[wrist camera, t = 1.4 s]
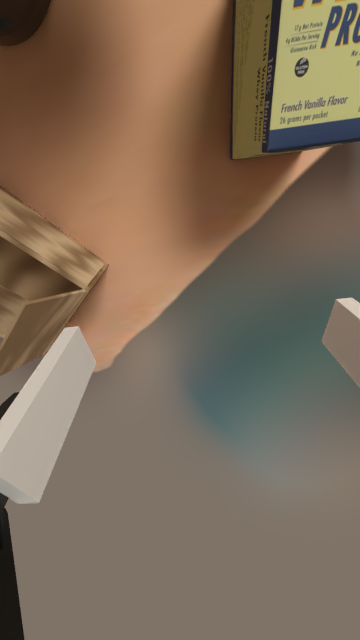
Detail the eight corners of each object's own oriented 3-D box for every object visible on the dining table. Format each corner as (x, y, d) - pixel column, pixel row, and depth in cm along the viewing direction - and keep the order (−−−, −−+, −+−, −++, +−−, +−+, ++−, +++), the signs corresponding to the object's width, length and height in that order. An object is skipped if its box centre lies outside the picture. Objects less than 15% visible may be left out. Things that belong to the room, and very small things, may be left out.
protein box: (229, 162, 31) (266, 155, 18) (231, -25, 22) (305, -297, 9) (304, 151, 30) (398, 136, 17) (337, -45, 22) (572, -365, 9)
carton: (-53, 258, 38) (-116, 282, 30) (-26, 163, 31) (-102, 160, 22) (66, 324, 46) (42, 357, 38) (110, 262, 39) (91, 287, 31)
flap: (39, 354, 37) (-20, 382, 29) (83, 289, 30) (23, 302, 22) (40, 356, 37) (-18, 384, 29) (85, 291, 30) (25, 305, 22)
